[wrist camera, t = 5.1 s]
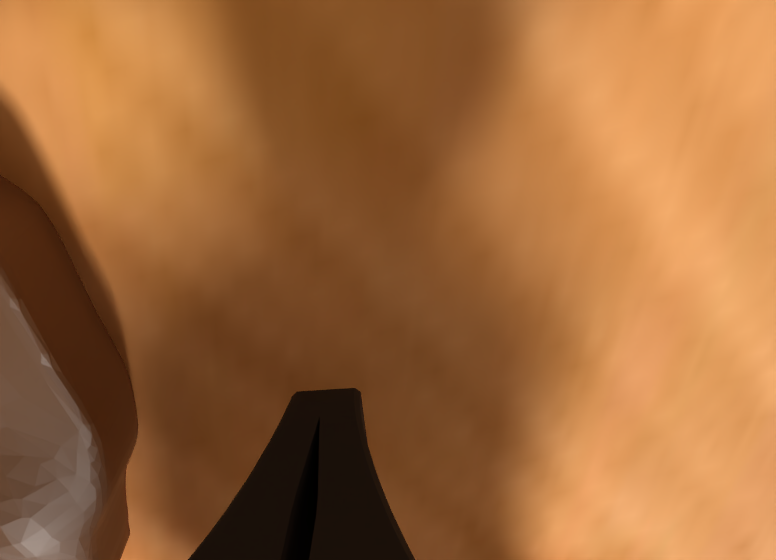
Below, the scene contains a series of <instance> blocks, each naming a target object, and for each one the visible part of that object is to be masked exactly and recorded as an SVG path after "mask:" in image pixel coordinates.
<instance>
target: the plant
mask: <svg viewBox="0 0 776 560" xmlns="http://www.w3.org/2000/svg"><path fill="white" fill-rule="evenodd" d="M137 433H138V422H137V414H136V408H135V401H134V396H133V391H132V387H131V382H130V379H129V376H128V373H127V370H126V367H125V365H124V362H123V360H122V358H121V356H120V354H119V353H118V351H117V349H116V347H115V345H114V343H113V342H112V340H111V338H110V336H109V334H108V332H107V331H106V329H105V327H104V325H103V323H102V321H101V320H100V318H99V316H98V314H97V312H96V310H95V308H94V306H93V304H92V302H91V300H90V298H89V296H88V294H87V292H86V290H85V288H84V286H83V284H82V282H81V280H80V278H79V275H78V273H77V271H76V269H75V267H74V265H73V263H72V261H71V259H70V257H69V255H68V252H67V250H66V248H65V246H64V244H63V242H62V241H61V239H60V237H59V235H58V233H57V231H56V230H55V228H54V226H53V224H52V223H51V221H50V220H49V218H48V217H47V215H46V214H45V212H44V211H43V209H42V208H41V207H40V205H39V204H38V203H37V202H36V201H34V200H33V199H32V198H31V197H30V196H29V195H28V194H27V193H25V192H24V191H23V190H22V189H20V188H19V187H17V186H16V185H14V184H13V183H11V182H10V181H8V180H7V179H5V178H4V177H2V176H1V175H0V560H120V559H121V556H122V554H123V551H124V548H125V546H126V543H127V541H128V538H129V535H130V529H129V523H128V508H127V501H126V488H125V485H126V468H127V464H128V461H129V459H130V457H131V454H132V452H133V449H134V446H135V443H136V439H137Z"/></svg>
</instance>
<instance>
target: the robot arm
mask: <svg viewBox="0 0 776 560" xmlns="http://www.w3.org/2000/svg"><path fill="white" fill-rule="evenodd" d="M188 560H415V558H414V557H413V555H412V553H411V551H410V549H409V547H408V545H407V543H406V541H405V539H404V537H403V535H402V533H401V531H400V529H399V526H398V524H397V522H396V520H395V518H394V516H393V513H392V511H391V509H390V506H389V504H388V502H387V499H386V497H385V494H384V492H383V489H382V487H381V484H380V481H379V479H378V476H377V473H376V470H375V467H374V464H373V461H372V458H371V454H370V451H369V448H368V444H367V437H366V429H365V422H364V414H363V407H362V399H361V392H360V391H358V390H357V389H355V388H347V389H331V390H316V391H300V392H296V393H295V394H294V395H293V396H292V398H291V400H290V402H289V405H288V407H287V409H286V411H285V413H284V415H283V417H282V419H281V421H280V423H279V425H278V427H277V429H276V431H275V432H274V434H273V436H272V438H271V440H270V442H269V443H268V445H267V447H266V449H265V450H264V452H263V454H262V455H261V457H260V459H259V460H258V462H257V464H256V466H255V467H254V469H253V471H252V472H251V474H250V475H249V477H248V479H247V480H246V482H245V483H244V485H243V486H242V488H241V489H240V491H239V492H238V494H237V495H236V497H235V498H234V500H233V501H232V503H231V504H230V506H229V507H228V508H227V510H226V511H225V513H224V514H223V515H222V517H221V518H220V520H219V521H218V522H217V524H216V525H215V526H214V528H213V529H212V530H211V532H210V533H209V534H208V535H207V537H206V538H205V539H204V541H203V542H202V543H201V544H200V546H199V547H198V548H197V549H196V551H195V552H194V553H193V554H192V555H191V557H190V558H189V559H188Z"/></svg>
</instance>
